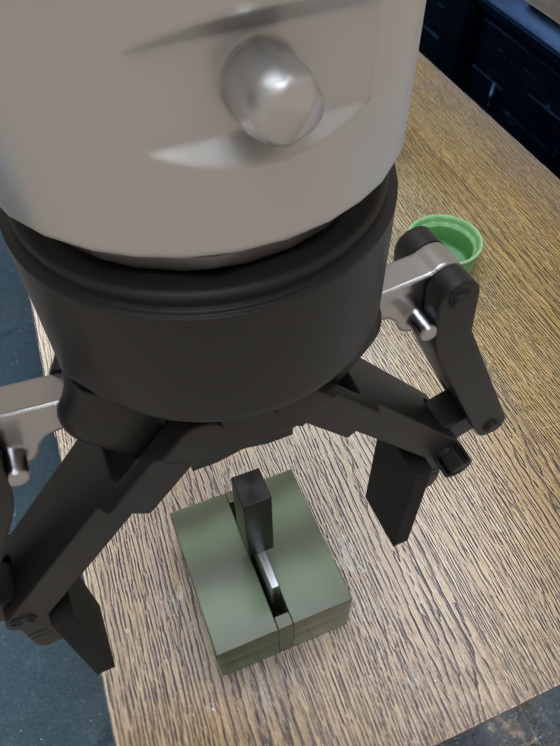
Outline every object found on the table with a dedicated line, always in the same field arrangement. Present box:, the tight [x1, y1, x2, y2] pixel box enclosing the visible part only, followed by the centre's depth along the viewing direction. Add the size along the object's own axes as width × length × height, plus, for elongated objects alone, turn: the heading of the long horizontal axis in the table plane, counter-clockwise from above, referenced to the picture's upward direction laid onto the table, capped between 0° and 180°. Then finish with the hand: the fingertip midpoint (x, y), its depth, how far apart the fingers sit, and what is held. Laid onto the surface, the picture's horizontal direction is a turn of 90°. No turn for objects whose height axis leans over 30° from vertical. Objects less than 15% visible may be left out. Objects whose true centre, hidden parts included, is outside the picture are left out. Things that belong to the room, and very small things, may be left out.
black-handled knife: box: [230, 468, 280, 617], centre depth 49 cm, size 8×2×17 cm, turn 22°
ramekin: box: [406, 213, 484, 275], centre depth 78 cm, size 9×9×4 cm
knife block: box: [169, 469, 353, 677], centre depth 53 cm, size 12×11×6 cm
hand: (250, 575), depth 29 cm, fingers open, 13 cm apart
